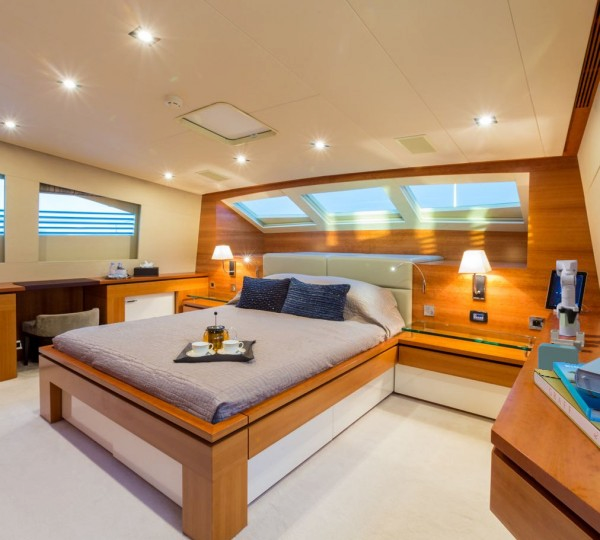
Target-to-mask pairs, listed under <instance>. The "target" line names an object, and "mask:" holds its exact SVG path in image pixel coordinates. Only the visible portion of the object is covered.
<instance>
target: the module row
mask: <svg viewBox="0 0 600 540" xmlns="http://www.w3.org/2000/svg"><path fill="white" fill-rule="evenodd" d="M559 333H560V329H551V330H550V344H551V343H554V344H557V345H566V346H573V342H574V341H581V342H582V348H584V347H585V332H584V331H580V332H577V333H576V336H575V340H572V339H564V338H563V339H562V338H560V335H559Z"/></svg>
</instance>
